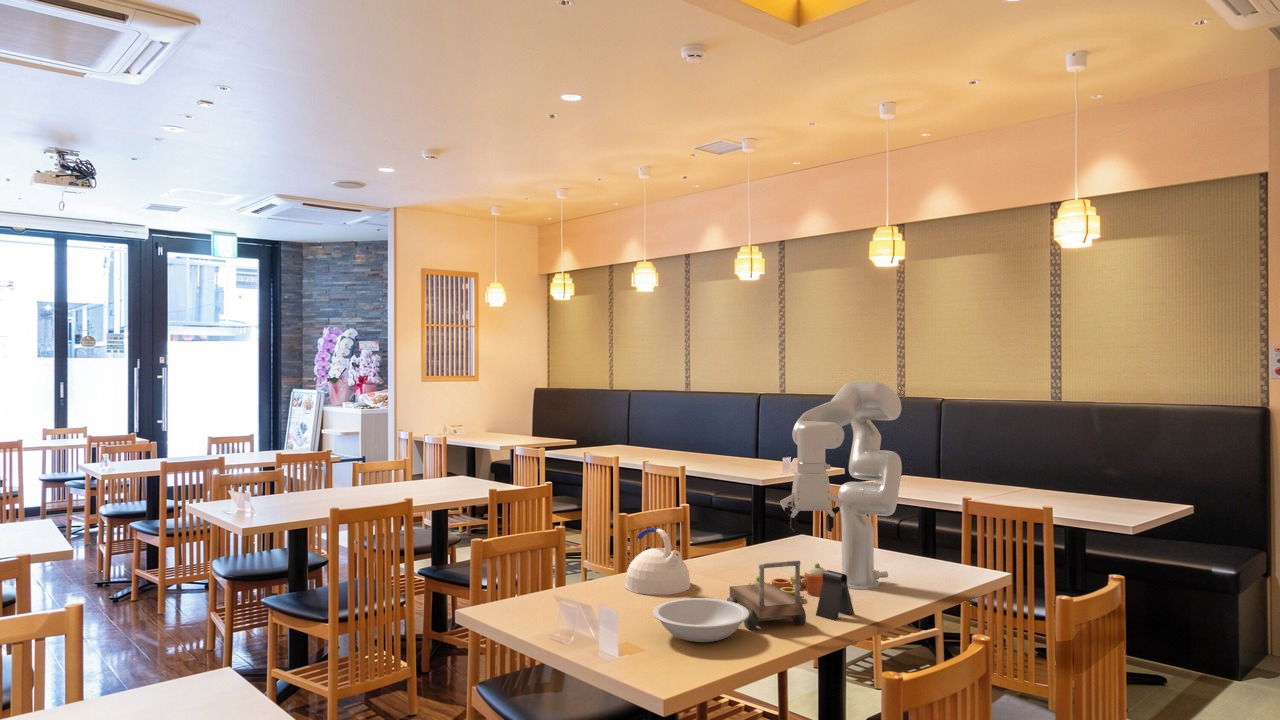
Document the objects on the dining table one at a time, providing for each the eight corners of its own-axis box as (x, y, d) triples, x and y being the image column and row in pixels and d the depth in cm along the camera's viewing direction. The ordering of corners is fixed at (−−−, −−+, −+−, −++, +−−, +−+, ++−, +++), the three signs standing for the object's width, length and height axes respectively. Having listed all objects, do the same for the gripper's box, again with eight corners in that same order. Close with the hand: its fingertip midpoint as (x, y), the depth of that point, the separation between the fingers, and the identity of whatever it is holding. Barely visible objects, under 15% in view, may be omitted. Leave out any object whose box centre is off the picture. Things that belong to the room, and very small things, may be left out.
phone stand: (833, 622, 219) (832, 577, 219) (815, 617, 224) (815, 572, 224) (854, 616, 225) (854, 571, 225) (837, 611, 230) (836, 567, 230)
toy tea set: (801, 584, 259) (801, 553, 259) (840, 595, 246) (840, 562, 246) (739, 598, 243) (739, 565, 243) (778, 611, 231) (777, 576, 231)
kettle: (652, 599, 242) (651, 537, 242) (612, 585, 259) (611, 526, 259) (705, 588, 254) (704, 529, 254) (663, 575, 270) (663, 519, 271)
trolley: (775, 607, 233) (774, 544, 233) (808, 629, 214) (808, 560, 214) (724, 612, 229) (723, 548, 229) (753, 634, 210) (753, 565, 210)
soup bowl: (657, 621, 221) (657, 596, 221) (748, 624, 218) (747, 598, 218) (648, 653, 197) (648, 625, 197) (750, 656, 195) (750, 627, 195)
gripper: (838, 466, 233) (838, 528, 233) (777, 467, 232) (777, 529, 232) (846, 470, 225) (846, 533, 225) (783, 470, 224) (783, 534, 224)
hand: (811, 531), depth 228 cm, fingers open, 9 cm apart
